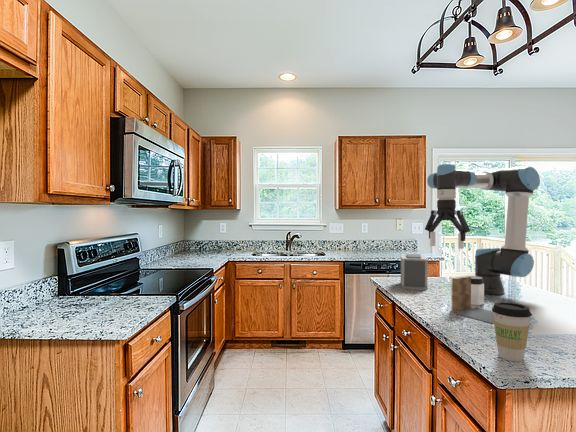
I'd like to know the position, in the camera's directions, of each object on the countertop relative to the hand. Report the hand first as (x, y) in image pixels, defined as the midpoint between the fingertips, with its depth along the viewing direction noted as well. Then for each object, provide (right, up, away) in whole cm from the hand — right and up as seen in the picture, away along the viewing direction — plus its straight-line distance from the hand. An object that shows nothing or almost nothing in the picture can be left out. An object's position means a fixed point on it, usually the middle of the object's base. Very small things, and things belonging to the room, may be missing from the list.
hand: (446, 247), depth 157 cm
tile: (+5, -27, -4) cm, 27 cm away
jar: (+15, -27, +7) cm, 32 cm away
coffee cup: (-5, -27, -54) cm, 61 cm away
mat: (+10, -27, -13) cm, 31 cm away
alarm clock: (+1, -26, +44) cm, 51 cm away
